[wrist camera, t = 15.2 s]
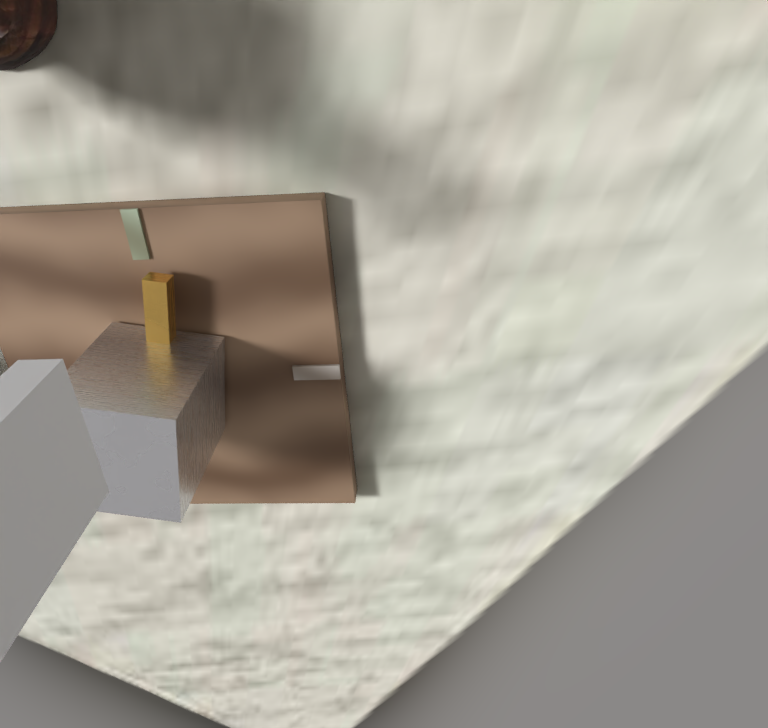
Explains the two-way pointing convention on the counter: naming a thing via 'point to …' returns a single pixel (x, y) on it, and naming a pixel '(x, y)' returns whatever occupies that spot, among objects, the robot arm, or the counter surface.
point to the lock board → (203, 320)
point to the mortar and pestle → (25, 30)
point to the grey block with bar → (152, 406)
